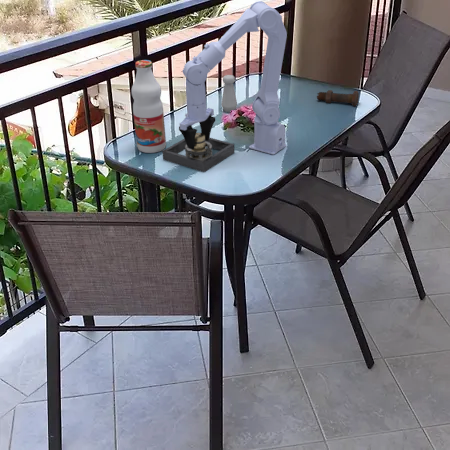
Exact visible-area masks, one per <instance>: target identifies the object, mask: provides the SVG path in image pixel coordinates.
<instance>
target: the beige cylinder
mask: <svg viewBox="0 0 450 450" xmlns="http://www.w3.org/2000/svg"><path fill="white" fill-rule="evenodd" d="M205 148H206V147H205V135H204V134H203V133H201V132H196V135H195V147H194V149H191V150H194V151H200V150H205ZM206 155H207V154H206ZM206 155H202V157H203V156H206ZM191 156H193V157H199V156H194V155H191Z"/></svg>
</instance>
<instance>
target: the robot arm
mask: <svg viewBox="0 0 450 450" xmlns="http://www.w3.org/2000/svg"><path fill="white" fill-rule="evenodd" d="M259 28H260V29H261V30H262V31H263V32H264V34H265V35H266V36H267V43H266V51H265V55H264V56H265V57H264V63H263V70H262V76H261V83H260V88H259V90H258V91H257V92H256V96H255V99H254V100H253V102H252V105H251V108H252V111H253V112H254V114H255V115H254V123H253V125H254V129H253V130H254V132H253V133H254V134H253V137H254V139H253V140H254V142H253V143H252V144H251V145H249V146H248V149H251V150H255V151H259V152H262V153H265V154H269V155H276V154H277V153H278V152H279V151H281V150H282V149H284V148H286V146H287V145H286V126H285V125H284V124H283V123H281V122H279V120H280V117H281V110H280V98H279V95H278V90H279V84H280V79H281V73H282V66H283V60H284V54H285V49H286V43H287V38H288V36H287V34H288V32H287V30H286V27H285V25H284V22H283V16H282V15H281V14H280V13H279V11H278V10H276V9H275V8H273V7H272V6H270V5H268V4H267V3H266V2H265V1H262V0H261V1H259V0H258V1H255V2H253V3H252V4H251V6H250V7H249V8H246V9H245V11H244V12H243V13H242V14H241V16H240V17H239V18H238V19H237V20H236V21H235V22H234V23H233V25H231V27H230V28H229V29H228V30H226V32H225V33H224V34H223V35H222V37H220V39H219V40H218V41H211V42H210V43H207V42H206V44H204V46H203V47H204V48H203V50H201V51H200V52H199V53H198V54H197V55H196V56H195V55H194V56H193V57H192V59H191V60H188V61H187V62H186V63H185V64H184V66H183V69H182V74H183V75H184V77H185V94H186V95H185V96H186V112H187V113H185V114H184V116H185V118H184V119H183V120H182V121H181V122H179V126H178V131H179V132H180V134H181V135H182V136H183V139H185V141H186V144H187V147H188V148H189V149H194V147H195V135H196V133H198V132H197V131H198V129H197V128H193V125H195V124H198V123H199V126H200V133H203V134H204V135H205V140H207V141H208V140H209V137H210V136H211V133H212V129H213V126H214V123H215V122H216V117H215V116H214V115H215V112H214V111H215V110H214V108H210V107H208V108H207V100H206V84H205V82H206V80H207V79H208V74H209V73H210V72H211V71H212V70H213V69H214V68H215V67H216V66H217V65H218V64H219V63H220V62H221V61H223V59H225V57H226V51H227V50H228V49H229V48H230V47H232V46H233V45H234V44H235V43H236V42H238V40H239V39H241V38H242V37H243V36H244V35H246V33H254V32H256V33H257V32H259V31H260V29H259ZM210 138H211V137H210Z"/></svg>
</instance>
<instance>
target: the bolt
mask: <svg viewBox="0 0 450 450" xmlns="http://www.w3.org/2000/svg"><path fill="white" fill-rule="evenodd" d="M316 94H317V96H316V99H317V100H318V101H322V102H323V101H325V103H326V104H332V102H335V103H346V104H351V106H352V105H353V106H352V107H357V106H358V104H357V103H359V99H360V98H359V97H360V96H359V95H360V93H359V91H357V90H354V91H353V92H352V93H335V92H334V91H333V90H331V89H330V90H327V91H326V92H325V91H319V92H317V93H316ZM356 105H357V106H356Z"/></svg>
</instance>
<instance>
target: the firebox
mask: <svg viewBox="0 0 450 450" xmlns="http://www.w3.org/2000/svg"><path fill="white" fill-rule="evenodd" d="M213 150H217V152H215V153H213ZM183 151H184V152H185V155H184V154H180V153H181V152H183ZM161 152H162V159H163V161H167V162H168V163H173V164H176V165H179V166H183V167H185V168H189V169H191V170H196V171H198V172H202V173H206V172H207V171H209V170H210V169H212V168H213V167H215V166H216V165H218V164H219V163H221V162H223V161H224V160H225V159H227V158H228V157H230V156H232V155H234V154H235V143H231V142H227V141H224V140H221V139H217V138H213V137H209V140H208V141H207V140H205V150H200V151H194V150H191V149H189V148H188V147H187V144H186V141H185V139H184V138H183V139H181V140H180V141H177V142H175V143H174V144H172V145H170V146H168V147H167V148H166V149H165V148H164V149H163V150H162V151H161ZM192 155H194V156H199V157H193V156H192ZM202 155H206V156H203V157H202Z"/></svg>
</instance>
